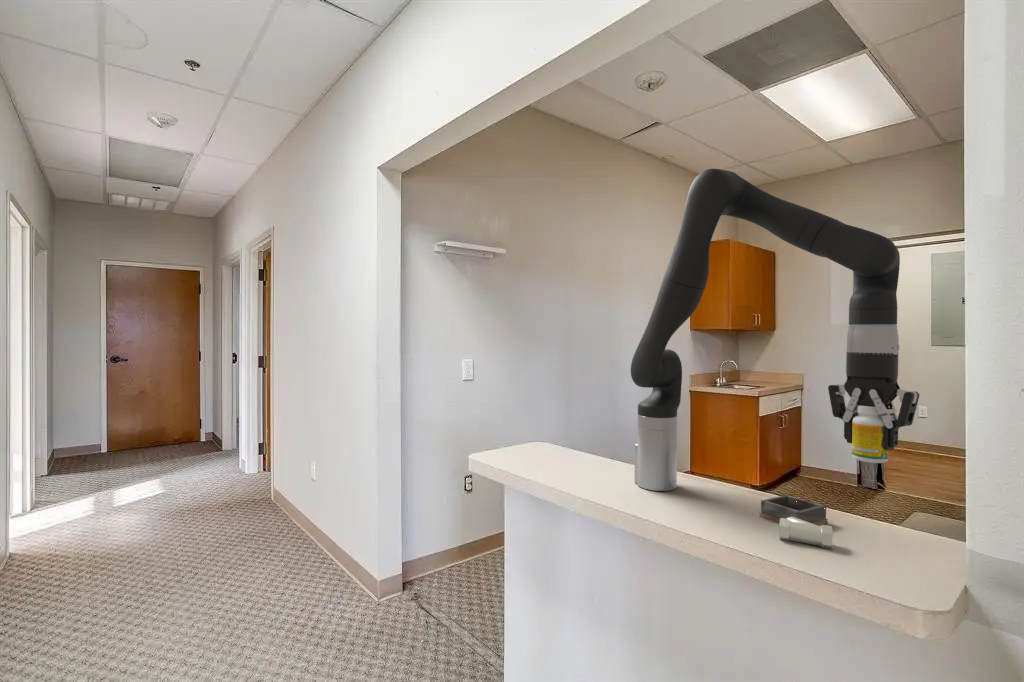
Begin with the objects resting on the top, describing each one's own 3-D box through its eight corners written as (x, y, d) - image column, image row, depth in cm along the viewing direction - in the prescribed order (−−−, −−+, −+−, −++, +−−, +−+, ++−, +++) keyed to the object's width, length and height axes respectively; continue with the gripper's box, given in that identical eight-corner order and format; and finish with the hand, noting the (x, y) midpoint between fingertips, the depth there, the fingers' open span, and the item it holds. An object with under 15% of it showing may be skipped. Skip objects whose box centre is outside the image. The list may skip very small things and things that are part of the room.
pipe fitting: (781, 532, 97) (779, 542, 91) (781, 511, 97) (779, 519, 91) (831, 541, 93) (832, 552, 87) (831, 519, 93) (832, 528, 87)
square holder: (759, 516, 104) (759, 500, 104) (785, 510, 108) (785, 494, 108) (800, 530, 96) (801, 513, 96) (827, 523, 100) (827, 506, 100)
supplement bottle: (854, 454, 95) (855, 402, 95) (890, 459, 91) (891, 405, 91) (849, 459, 91) (850, 405, 91) (886, 465, 87) (887, 408, 87)
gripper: (818, 349, 95) (816, 440, 95) (908, 352, 83) (905, 457, 83) (841, 349, 99) (840, 437, 99) (930, 351, 86) (928, 452, 86)
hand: (870, 445), depth 91 cm, fingers closed on supplement bottle, 5 cm apart
